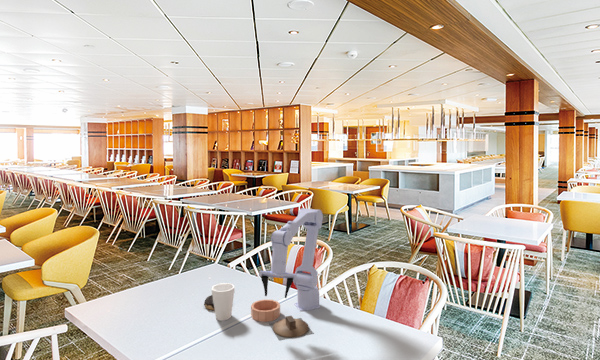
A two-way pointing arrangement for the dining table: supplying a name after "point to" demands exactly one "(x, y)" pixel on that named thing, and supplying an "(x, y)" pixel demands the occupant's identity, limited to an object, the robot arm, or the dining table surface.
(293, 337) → the mat
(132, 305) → the dining table surface
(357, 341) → the dining table surface
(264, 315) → the bowl
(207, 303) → the donut
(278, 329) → the lid
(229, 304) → the foam cup
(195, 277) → the dining table surface
